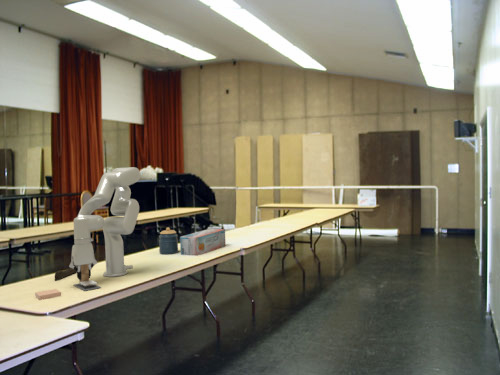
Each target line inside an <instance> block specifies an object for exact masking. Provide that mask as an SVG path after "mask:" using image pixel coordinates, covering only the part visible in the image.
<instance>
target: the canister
mask: <svg viewBox="0 0 500 375" xmlns="http://www.w3.org/2000/svg"><path fill="white" fill-rule="evenodd" d="M159 234H160V235H158V238H159V240H158V243H159V245H158V246H159V250H158V252H159V254H160V255H174V254H177V253H179V243H178V242H179V240H178V234H177V231H175V230H174V229H171V228H170V227H166V228H165V230H161V232H159Z"/></svg>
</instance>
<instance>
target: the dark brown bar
mask: <svg viewBox="0 0 500 375" xmlns="http://www.w3.org/2000/svg"><path fill="white" fill-rule="evenodd" d="M73 274H77V271H76V270H74V269H73V268H70V267H69V268H66V269H65V270H58V271H56V272H54V281H60V280H62V279H64V278H65V277H68V276H70V275H73Z"/></svg>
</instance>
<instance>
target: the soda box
mask: <svg viewBox="0 0 500 375" xmlns="http://www.w3.org/2000/svg"><path fill="white" fill-rule="evenodd" d="M179 243H180V247H179V248H180V255H182V256H200V255H203V254H206V253H209V252H212V251H215V250H217V249H220V248H222V247H225V246H227V245H226V229H224V228H208V229H204V230H200V231H196V232H193V233H189V234H185V235H182V236H179Z"/></svg>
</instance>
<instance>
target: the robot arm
mask: <svg viewBox="0 0 500 375" xmlns="http://www.w3.org/2000/svg"><path fill="white" fill-rule="evenodd" d="M140 171H141V170H140V169H139V168H137V167H133V166H132V167H131V166H130V167H117V168H114V169H112V171H108V172H105V173H103V174H102V176H101V178H100V181H99V183H98V185H97V187H96V190H95V192H94V194H93V196H91V197H90V198H89V199H88V200H87V201H86V202H85V203H84V204H83V205H82V206H81V208H80V210H79V212H78V214H77V216H76V217H75V218H73V239H74V242H73V243H74V244H73V245H72V247H71V261H70V263H69V265H68V267H69V268H73V269H74V270H76V271H77V273H76V278H77V280H81V272H80V267H81V265H85V264H88V268H89V279H91V276H92V275H91V274H92V273H91V270H92V269H93V267H94V266H95V265H97V264H98V261H97V259H96V258H95V253H94V252H95V250H94V246H93V243H92V242H94V238H92V237H91V231H98V230H101V229H102V230H103V232H102V233H103V235H104V248H105V271H104V272H103V276H104V277H106V278H107V277H110V278H111V277H112V278H113V277H114V278H116V277H121V276H122V277H123V276H126V275H127V274H128V270H132V269H133V268H134V266H133V264H129V265H126V264H125V256H124V249H125V248H124V240H123V238H122V236H121V235H124V236H125V235H131V234H132V233H133V232H134V230H135V226H136V224H137V219H138V217H139V212H140V205H139V202H138V201H137V199H135V198H131V194H132V192H131V188H130V186H131V185H134V184H135V183H137V182H138V181H139V180H140V178H141V172H140ZM113 194H114V196H113ZM112 197H113V199H112ZM111 199H112V202H111V206H110V212H111V215H113V216H108V217H106V218H105V219H104V217H102V216H101V215H99V214H98V215H97V214H92V213H93V212H95V210H97V209H99V208H101V207H103V206H106V205H107V204H109V203H110V201H111Z"/></svg>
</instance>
